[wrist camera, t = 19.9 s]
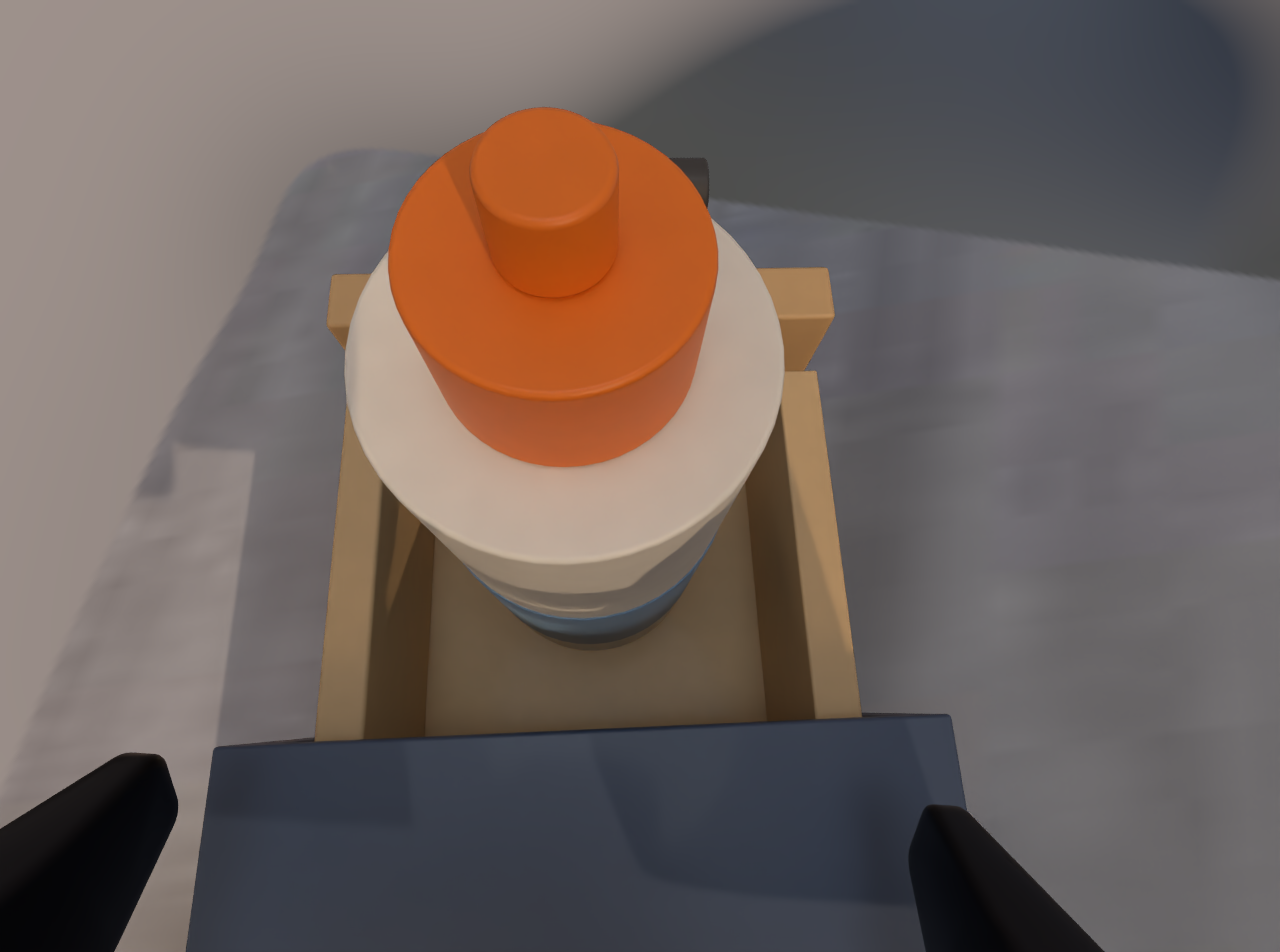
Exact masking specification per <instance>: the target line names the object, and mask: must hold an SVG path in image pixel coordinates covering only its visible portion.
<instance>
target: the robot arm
mask: <svg viewBox="0 0 1280 952" xmlns="http://www.w3.org/2000/svg"><path fill="white" fill-rule="evenodd" d="M177 813H178V799H177V796H176V792H175V789H174V786H173V783H172V780H171V777H170V773H169V770H168V767H167V764H166V762H165V760H164V759H163V758H162V757H161V756H160V755H157V754H146V753H124V754H121V755H119V756H117V757H115V758H113V759H111V760H110V761H108V762H107V763H105V764H103V765H102V766H100V767H99V768H97V769H95V770H94V771H92V772H91V773H89V774H87V775H86V776H84V777H83V778H81V779H79V780H78V781H76V782H75V783H73V784H71V785H70V786H68V787H67V788H65V789H63V790H62V791H60V792H59V793H57V794H55V795H54V796H52V797H51V798H49V799H47V800H46V801H44V802H43V803H41V804H39V805H38V806H36V807H35V808H33V809H31V810H30V811H28V812H27V813H25V814H23V815H22V816H20V817H19V818H17V819H15V820H14V821H12V822H11V823H9V824H7V825H6V826H4V827H3V828H1V829H0V952H114V951H115V949H116V947H117V945H118V943H119V941H120V939H121V937H122V935H123V932H124V930H125V928H126V926H127V924H128V922H129V920H130V917H131V915H132V913H133V911H134V909H135V907H136V905H137V903H138V900H139V898H140V896H141V894H142V892H143V890H144V888H145V886H146V883H147V881H148V879H149V877H150V875H151V873H152V871H153V868H154V866H155V864H156V862H157V860H158V858H159V856H160V854H161V851H162V849H163V847H164V845H165V843H166V841H167V839H168V837H169V834H170V832H171V830H172V828H173V826H174V823H175V821H176V817H177ZM908 864H909V872H910V877H911V882H912V887H913V892H914V897H915V902H916V907H917V911H918V916H919V921H920V926H921V931H922V936H923V941H924V946H925V951H926V952H1104V951H1103V950H1102V949H1101V948H1100V947H1099V946H1098V945H1097V944H1096V943H1095V941H1094V940H1093V939H1092V938H1091V937H1090V936H1089V935H1088V934H1087V933H1086V932H1085V931H1084V930H1083V929H1082V928H1081V927H1080V926H1079V925H1078V924H1077V923H1076V922H1075V921H1074V920H1073V919H1072V918H1071V917H1070V916H1069V915H1068V914H1067V913H1066V912H1065V911H1064V910H1063V909H1062V908H1061V907H1060V906H1059V905H1058V904H1057V903H1056V902H1055V901H1054V900H1053V899H1052V897H1051V896H1050V895H1049V894H1048V893H1047V892H1046V891H1045V890H1044V889H1043V888H1042V887H1041V886H1040V885H1039V884H1038V883H1037V882H1036V881H1035V880H1034V879H1033V878H1032V877H1031V876H1030V875H1029V874H1028V873H1027V872H1026V871H1025V870H1024V869H1023V868H1022V867H1021V866H1020V865H1019V864H1018V863H1017V862H1016V861H1015V860H1014V859H1013V858H1012V857H1011V856H1010V855H1009V854H1008V852H1007V851H1006V850H1005V849H1004V848H1003V847H1002V846H1001V845H1000V844H999V843H998V842H997V841H996V840H995V839H994V838H993V837H992V836H991V835H990V834H989V833H988V832H987V831H986V830H985V829H984V828H983V827H982V826H981V825H980V824H979V823H978V822H977V821H976V820H975V819H974V818H973V817H972V816H971V815H970V814H969V813H968V812H967V811H966V810H964V809H963V808H961V807H958V806H951V805H935V804H931V805H928V806H926V807H925V808H924V810H923V812H922V814H921V817H920V820H919V822H918V825H917V828H916V831H915V834H914V836H913V839H912V842H911V845H910V848H909V854H908Z"/></svg>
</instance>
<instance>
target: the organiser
mask: <svg viewBox="0 0 1280 952" xmlns="http://www.w3.org/2000/svg"><path fill="white" fill-rule="evenodd" d="M314 740H315V737H314V738H304V739H293V740H283V741H273V742H262V743H252V744H241V745H230V746H220V747H216V748H215V749H214V751H213V757H212V764H211V771H210V778H209V786H208V793H207V800H206V808H205V815H204V822H203V830H202V837H201V844H200V851H199V859H198V866H197V873H196V881H195V888H194V895H193V903H192V910H191V917H190V924H189V932H188V939H187V946H186V952H926V951H925V946H924V941H923V936H922V931H921V926H920V921H919V916H918V911H917V907H916V902H915V897H914V892H913V887H912V882H911V877H910V872H909V864H908V854H909V848H910V845H911V842H912V839H913V836H914V834H915V831H916V828H917V825H918V822H919V820H920V817H921V814H922V812H923V810H924V808H925V807H926V806H928V805H931V804H935V805H951V806H958V807H961V808H963V809H964V810H966V811H967V809H966V803H965V797H964V791H963V785H962V779H961V773H960V767H959V761H958V755H957V749H956V743H955V737H954V732H953V726H952V720H951V717H950V715H948V714H906V713H862V717H852V718H830V719H807V720H785V721H763V722H740V723H718V724H695V725H673V726H651V727H628V728H606V729H583V730H561V731H539V732H516V733H494V734H471V735H449V736H427V737H404V738H382V739H359V740H337V741H315V742H314Z"/></svg>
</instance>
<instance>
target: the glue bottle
mask: <svg viewBox="0 0 1280 952" xmlns="http://www.w3.org/2000/svg"><path fill="white" fill-rule="evenodd" d="M784 375H785V366H784V345H783V339H782V334H781V328H780V323H779V320H778V316H777V313H776V310H775V307H774V304H773V301H772V298H771V296H770V294H769V292H768V290H767V288H766V286H765V284H764V281H763V279H762V277H761V275H760V274H759V272H758V271H757V269H756V268H755V266H754V265H753V263H752V262H751V260H750V258H749V257H748V255H747V254H746V253H745V252H744V250H743V249H742V248H741V247H740V246H739V245H738V244H737V242H736V241H735V240H734V239H733V238H732V237H731V235H729V234H728V233H727V232H726V231H725V230H724V229H723V228H722V227H721V226H719V225H718V224H717V223H716V222H715V221H714V220H713V219H712V218H711V216H710V214H709V212H708V210H707V208H706V206H705V204H704V201H703V199H702V197H701V196H700V194H699V192H698V191H697V189H696V188H695V186H694V185H693V183H692V182H691V181H690V179H689V178H688V177H687V176H686V175H685V174H684V173H683V171H682V170H681V169H680V168H679V167H678V166H677V165H676V164H675V163H674V162H672V161H671V160H670V159H669V158H668V157H667V156H666V155H664V154H663V153H661V152H660V151H658V150H657V149H655V148H654V147H653V146H651V145H650V144H648V143H646V142H644V141H642V140H641V139H639V138H637V137H635V136H633V135H630V134H628V133H626V132H623V131H620V130H618V129H615V128H612V127H608V126H605V125H601V124H598V123H593V122H591V121H590V120H588V119H587V118H585V117H583V116H581V115H579V114H576V113H574V112H571V111H567V110H564V109H558V108H548V107H540V108H531V109H525V110H521V111H517V112H515V113H512V114H509V115H507V116H505V117H504V118H501V119H500V120H498V121H497V122H495V123H494V124H493V125H492V126H490V127H489V128H488V129H487V130H486V131H485V132H484V133H481V134H478V135H477V136H474V137H472V138H471V139H469V140H467V141H465V142H463V143H461V144H459V145H458V146H456V147H455V148H453V149H452V150H450V151H449V152H447V153H446V154H444V155H443V156H442V157H441V158H440V159H438V160H437V161H436V162H435V163H434V164H432V165H431V166H430V167H429V168H428V169H427V170H426V172H425V173H424V174H423V175H422V176H421V177H420V178H419V179H418V180H417V182H416V183H415V185H414V186H413V187H412V189H411V190H410V192H409V193H408V195H407V196H406V198H405V200H404V202H403V204H402V206H401V208H400V210H399V212H398V214H397V217H396V220H395V223H394V226H393V229H392V234H391V240H390V245H389V251H388V252H387V253H386V254H385V255H384V257H383V258H382V260H381V261H380V263H379V264H378V265H377V267H376V268H375V270H374V271H373V273H372V274H371V276H370V278H369V280H368V282H367V284H366V286H365V287H364V289H363V291H362V293H361V295H360V297H359V300H358V303H357V306H356V308H355V311H354V314H353V317H352V320H351V323H350V328H349V333H348V339H347V344H346V350H345V371H344V379H345V389H346V398H347V405H348V409H349V412H350V416H351V420H352V424H353V427H354V431H355V433H356V435H357V437H358V440H359V442H360V444H361V447H362V449H363V451H364V454H365V456H366V457H367V459H368V460H369V462H370V463H371V465H372V467H373V468H374V470H375V471H376V473H377V475H378V476H379V478H380V479H381V480H382V482H383V483H384V484H385V485H386V486H387V487H388V489H389V490H390V491H391V492H392V493H393V494H394V496H395V497H396V498H397V499H398V500H399V501H400V502H401V503H402V504H403V505H404V506H405V507H406V508H407V509H408V510H409V511H410V512H411V513H412V514H413V515H414V516H415V517H416V518H417V519H418V520H419V521H420V522H421V523H422V524H423V525H424V526H426V527H427V528H428V529H429V530H430V531H431V532H432V533H433V534H434V535H435V536H436V537H437V538H438V539H439V540H440V541H441V542H442V543H443V544H444V545H445V546H446V547H447V548H448V549H449V550H450V551H451V552H452V553H453V554H454V555H455V556H456V557H457V558H458V559H460V560H461V561H462V563H463V564H464V565H465V566H466V567H467V569H468V570H469V571H470V572H471V573H472V574H473V576H474V577H475V578H476V579H477V580H478V581H479V582H480V583H481V584H482V585H483V586H484V587H486V588H487V589H488V590H489V591H490V592H491V593H492V594H493V595H494V596H495V597H496V598H497V599H498V600H499V601H500V602H501V603H502V604H503V605H505V606H506V607H507V608H508V609H509V610H510V611H511V612H512V613H513V614H514V615H515V616H516V617H518V618H519V619H520V620H521V621H522V622H523V623H525V624H526V625H528V626H529V627H530V628H531V629H532V630H533V631H535V632H536V633H538V634H539V635H541V636H542V637H544V638H545V639H547V640H550V641H552V642H554V643H556V644H559V645H562V646H565V647H568V648H573V649H578V650H592V651H595V650H606V649H611V648H615V647H620V646H622V645H625V644H628V643H630V642H633V641H635V640H636V639H638V638H640V637H642V636H644V635H645V634H646V633H648V632H649V631H651V630H652V629H653V628H654V627H656V626H657V625H658V624H659V623H660V622H661V621H662V620H663V619H664V618H665V616H666V615H667V614H668V613H669V611H670V610H671V609H672V607H673V605H674V604H675V603H676V601H677V600H678V599H679V598H680V596H681V594H682V593H683V591H684V589H685V588H686V586H687V584H688V583H689V581H690V579H691V578H692V576H693V574H694V573H695V571H696V569H697V568H698V566H699V564H700V563H701V561H702V559H703V558H704V556H705V554H706V553H707V551H708V549H709V548H710V546H711V544H712V542H713V540H714V538H715V536H716V533H717V531H718V529H719V526H720V525H721V523H722V521H723V520H724V518H725V516H726V514H727V513H728V511H729V509H730V507H731V506H732V504H733V502H734V501H735V499H736V497H737V495H738V494H739V492H740V490H741V489H742V487H743V485H744V483H745V482H746V480H747V478H748V476H749V475H750V473H751V471H752V470H753V468H754V466H755V464H756V463H757V461H758V459H759V458H760V456H761V454H762V452H763V451H764V449H765V446H766V444H767V442H768V439H769V437H770V435H771V432H772V430H773V428H774V426H775V422H776V419H777V415H778V411H779V407H780V404H781V400H782V392H783V384H784Z"/></svg>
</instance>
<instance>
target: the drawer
mask: <svg viewBox="0 0 1280 952" xmlns="http://www.w3.org/2000/svg"><path fill="white" fill-rule="evenodd" d="M669 159H670V160H671V161H672V162H674V163H675V164H676V165H677V166H678V167H679V168H680V169H681V170H682V171H683V173H684V174H685V175H686V176H687V177H688V178H689V179H690V181H691V182H692V183H693V185H694V186H695V188H696V189H697V191H698V192H699V194H700V196H701V197H702V199H703V201H704V204H705V206H706V208H708V199H709V169H708V163H707V160H706V159H705V158H669ZM756 269H757V271H758V272H759V274H760V275H761V277H762V279H763V281H764V284H765V286H766V288H767V290H768V292H769V294H770V296H771V298H772V301H773V304H774V307H775V310H776V313H777V316H778V320H779V323H780V328H781V334H782V339H783V345H784V366H785V375H784V384H783V392H782V400H781V404H780V407H779V411H778V415H777V419H776V422H775V426H774V428H773V430H772V432H771V435H770V437H769V439H768V442H767V444H766V446H765V449H764V451H763V452H762V454H761V456H760V458H759V459H758V461H757V463H756V464H755V466H754V468H753V470H752V471H751V473H750V475H749V476H748V478H747V480H746V482H745V483H744V485H743V487H742V489H741V490H740V492H739V494H738V495H737V497H736V499H735V501H734V502H733V504H732V506H731V507H730V509H729V511H728V513H727V514H726V516H725V518H724V520H723V521H722V523H721V525H720V526H719V529H718V531H717V533H716V536H715V538H714V540H713V542H712V544H711V546H710V548H709V549H708V551H707V553H706V554H705V556H704V558H703V559H702V561H701V563H700V564H699V566H698V568H697V569H696V571H695V573H694V574H693V576H692V578H691V579H690V581H689V583H688V584H687V586H686V588H685V589H684V591H683V593H682V594H681V596H680V598H679V599H678V600H677V601H676V603H675V604H674V605H673V607H672V609H671V610H670V611H669V613H668V614H667V615H666V616H665V618H664V619H663V620H662V621H661V622H660V623H659V624H658V625H657V626H656V627H654V628H653V629H652V630H651V631H649V632H648V633H646V634H645V635H644V636H642V637H640V638H638V639H636V640H635V641H633V642H630V643H628V644H625V645H622V646H620V647H615V648H611V649H606V650H595V651H592V650H578V649H573V648H568V647H565V646H562V645H559V644H556V643H554V642H552V641H550V640H547V639H545V638H544V637H542V636H541V635H539V634H538V633H536V632H535V631H533V630H532V629H531V628H530V627H529V626H528V625H526V624H525V623H523V622H522V621H521V620H520V619H519V618H518V617H516V616H515V615H514V614H513V613H512V612H511V611H510V610H509V609H508V608H507V607H506V606H505V605H503V604H502V603H501V602H500V601H499V600H498V599H497V598H496V597H495V596H494V595H493V594H492V593H491V592H490V591H489V590H488V589H487V588H486V587H484V586H483V585H482V584H481V583H480V582H479V581H478V580H477V579H476V578H475V577H474V576H473V574H472V573H471V572H470V571H469V570H468V569H467V567H466V566H465V565H464V564H463V563H462V561H461V560H460V559H458V558H457V557H456V556H455V555H454V554H453V553H452V552H451V551H450V550H449V549H448V548H447V547H446V546H445V545H444V544H443V543H442V542H441V541H440V540H439V539H438V538H437V537H436V536H435V535H434V534H433V533H432V532H431V531H430V530H429V529H428V528H427V527H426V526H424V525H423V524H422V523H421V522H420V521H419V520H418V519H417V518H416V517H415V516H414V515H413V514H412V513H411V512H410V511H409V510H408V509H407V508H406V507H405V506H404V505H403V504H402V503H401V502H400V501H399V500H398V499H397V498H396V497H395V496H394V494H393V493H392V492H391V491H390V490H389V489H388V487H387V486H386V485H385V484H384V483H383V482H382V480H381V479H380V478H379V476H378V475H377V473H376V471H375V470H374V468H373V467H372V465H371V463H370V462H369V460H368V459H367V457H366V456H365V454H364V451H363V449H362V447H361V444H360V442H359V440H358V437H357V435H356V433H355V431H354V427H353V424H352V420H351V416H350V412H349V409H348V405H347V406H346V417H345V427H344V437H343V448H342V458H341V469H340V479H339V490H338V500H337V510H336V521H335V531H334V542H333V552H332V563H331V573H330V584H329V594H328V604H327V615H326V625H325V636H324V646H323V657H322V667H321V677H320V688H319V698H318V709H317V719H316V730H315V740H314V742H315V741H337V740H359V739H382V738H404V737H427V736H449V735H471V734H494V733H516V732H539V731H561V730H583V729H606V728H628V727H651V726H673V725H695V724H718V723H740V722H763V721H785V720H807V719H830V718H852V717H862V713H861V705H860V697H859V690H858V682H857V675H856V667H855V659H854V652H853V644H852V637H851V629H850V621H849V614H848V606H847V599H846V591H845V583H844V576H843V568H842V561H841V553H840V545H839V538H838V530H837V523H836V515H835V507H834V500H833V492H832V485H831V477H830V469H829V462H828V454H827V447H826V439H825V432H824V424H823V416H822V409H821V401H820V394H819V386H818V378H817V372H816V371H804V370H805V368H806V367H807V365H808V363H809V361H810V360H811V358H812V356H813V354H814V352H815V351H816V349H817V347H818V345H819V344H820V342H821V340H822V338H823V336H824V335H825V333H826V331H827V329H828V328H829V326H830V324H831V322H832V320H833V319H834V316H835V313H834V306H833V299H832V293H831V286H830V279H829V272H828V269H827V268H825V267H809V268H756ZM370 276H371V274H335V275H333V276H332V278H331V287H330V296H329V305H328V314H327V327H328V328H329V330H330V331H331V332H332V334H333V335H334V336H335V338H336V339H337V340H338V342H339V343H340V344H341V346H342V347H343V348H344V350H346V344H347V339H348V333H349V328H350V323H351V320H352V317H353V314H354V311H355V308H356V306H357V303H358V300H359V297H360V295H361V293H362V291H363V289H364V287H365V286H366V284H367V282H368V280H369V278H370Z"/></svg>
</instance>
